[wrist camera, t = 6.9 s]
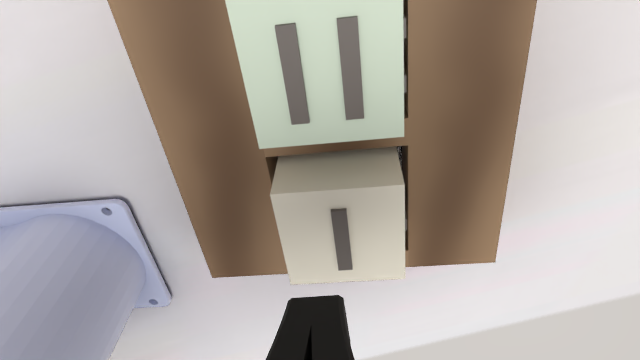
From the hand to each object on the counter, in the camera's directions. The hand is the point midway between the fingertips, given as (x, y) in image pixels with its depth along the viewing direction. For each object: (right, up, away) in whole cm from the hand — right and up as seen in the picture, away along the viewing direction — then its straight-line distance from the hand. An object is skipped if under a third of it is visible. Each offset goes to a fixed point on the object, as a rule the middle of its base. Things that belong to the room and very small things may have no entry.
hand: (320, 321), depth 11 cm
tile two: (0, +9, +5) cm, 10 cm away
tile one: (+1, +3, +9) cm, 10 cm away
